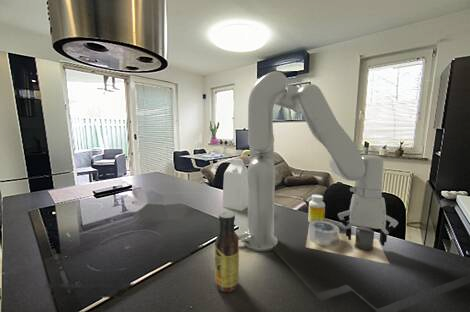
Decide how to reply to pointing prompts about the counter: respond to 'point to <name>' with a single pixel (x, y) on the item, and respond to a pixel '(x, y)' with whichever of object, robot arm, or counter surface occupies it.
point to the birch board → (352, 249)
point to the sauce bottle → (226, 254)
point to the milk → (235, 186)
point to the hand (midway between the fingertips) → (365, 240)
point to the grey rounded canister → (364, 238)
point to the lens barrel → (323, 233)
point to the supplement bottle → (316, 209)
